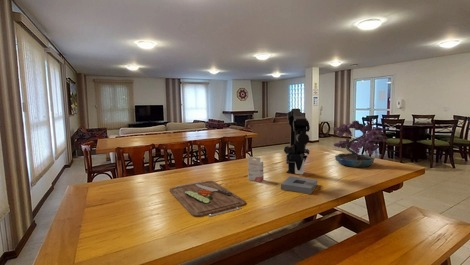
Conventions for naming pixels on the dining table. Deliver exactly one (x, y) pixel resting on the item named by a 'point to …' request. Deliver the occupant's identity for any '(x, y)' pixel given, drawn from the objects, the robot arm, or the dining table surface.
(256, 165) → the ink cartridge box
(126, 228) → the dining table surface
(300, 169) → the plug peg
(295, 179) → the socket block
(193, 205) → the chopping board
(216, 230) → the dining table surface
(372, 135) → the bonsai tree
